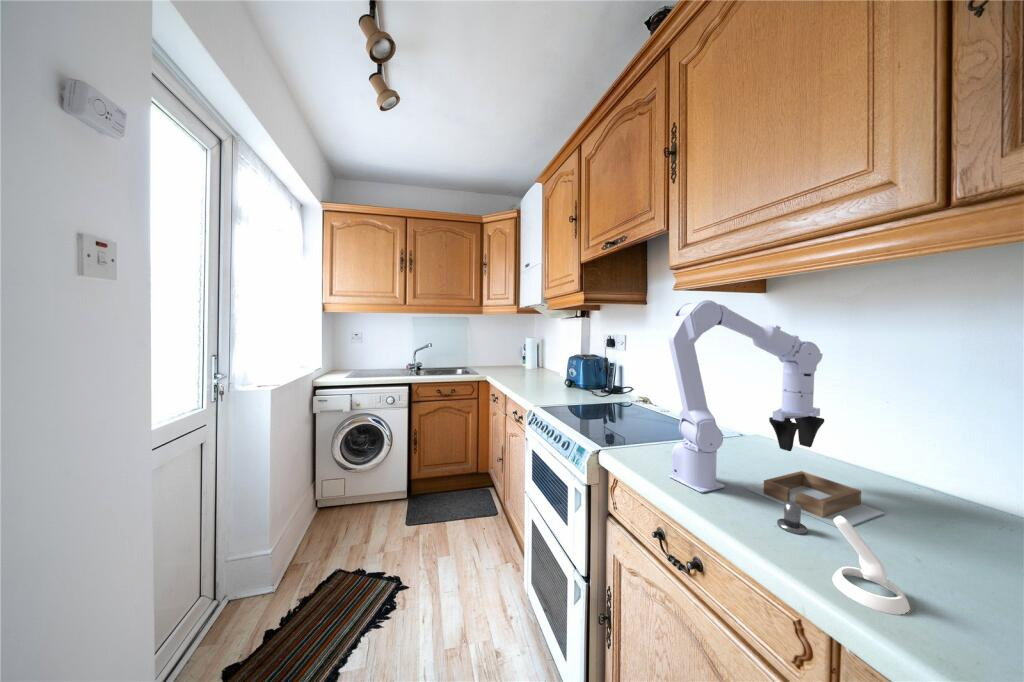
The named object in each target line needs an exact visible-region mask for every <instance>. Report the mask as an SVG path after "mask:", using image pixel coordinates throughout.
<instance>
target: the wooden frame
mask: <svg viewBox="0 0 1024 682" xmlns="http://www.w3.org/2000/svg"><path fill="white" fill-rule="evenodd" d="M763 483H764V494H766V495H769V496H771V497H774V498H776V499H778V500H781V501H783V502H785V501H790V489H793V488H797V487H800V486H806V487H808V488H811V489H814V490H817V491H820V492H822V493H825V494H828V495H831V496H830V497H827V498H824V499H820V500H819V499H817V498H814V497H811V496H809V495H806V494H803V493H801V492H796V497H795V503H798V504H799V505H801V509H802V510H805V511H807V512H809V513H812V514H814V515H817V516H819V517H821V518H824V517H827V516H829V515H832V514H835V513H838V512H841V511H844V510H847V509H850V508H853V507H855V506H858V505H862V490H861V489H857V488H854V487H851V486H848V485H846V484H843V483H839V482H836V481H833V480H830V479H827V478H823V477H820V476H817V475H815V474H812V473H809V472H806V471H803V470H801V471H795V472H793V473H787V474H784V475H783V474H782V475H780V476H776V477H772V478H767V479H764V480H763Z"/></svg>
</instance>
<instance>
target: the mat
mask: <svg viewBox="0 0 1024 682" xmlns="http://www.w3.org/2000/svg"><path fill="white" fill-rule="evenodd" d="M745 489H746V490H747V491H750V492H753V493H755V494H757V495H759V496H762V497H764V498H767V499H769V500H772V501H773V502H776V503H778V504H780V505H783V506H784V503H785V502H783V501H781V500H778V499H776V498H774V497H771V496H769V495H766V494H764V482H763V483H758V484H754V485H751V486H746V487H745ZM796 492H801V493H803V494H806V495H809V496H811V497H814V498H817V499H819V500H820V499H824V498H827V497H830V496H831V495H828V494H825V493H822V492H820V491H817V490H814V489H811V488H808V487H806V486H800V487H797V488H793V489H790V501H791V502H795V497H796ZM801 514H804V515H807V516H809V517H812V518H814V519H816V520H817V521H821V522H823V523H826V524H827V525H830V526H833V527H835V528H837V529H838V527H837V526H836V524H835V523H834V521H833V519H834V518H835V517H837V516H842V517H844V518H845V519H846V520H847V521H848V522H849V523H850V524H851V525H852V527H854V526H857V525H859V524H862V523H864V522H867V521H869V520H873V519H875V518H878V517H880V516H882V515H885V512H884V511H881V510H878V509H876V508H872V507H869V506H867V505H864V504H861V505H858V506H855V507H853V508H850V509H847V510H844V511H841V512H838V513H835V514H832V515H829V516H827V517H824V518H821V517H819V516H817V515H814V514H812V513H809V512H807V511H805V510H802V509H801Z"/></svg>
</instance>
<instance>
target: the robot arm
mask: <svg viewBox="0 0 1024 682" xmlns="http://www.w3.org/2000/svg"><path fill="white" fill-rule="evenodd" d="M716 326H722V327H724V328H725V329H729V330H732V331H733V332H736V333H739V334H740V335H743V336H745V337H747V338H750V339H752V344H753V345H754V346H755V347H756V348H759V349H761V350H763V351H765V352H767V353H769V354H771V355H773V356H776V357H777V358H778V361H780V362H781V363H782V364H783V365H782V394H781V407H780V408H778V409H777V410H773V411H772V416H770V417H768V422H769V423H770V425H771V426H772V428H773V431H774V432H775V435H776V439H777V442H778V446H779V449H780V450H783V451H787V452H792V450H793V447H794V441H795V436H796V432H797V433H798V443H799V445H800V446H801V447H806V448H812V446H813V444H814V442H815V441H814V440H815V438H816V436H817V433H818V431H819V430H820V428H821V427H822V425H823V424H825V419H824V417H823V418H822V417H820V416H821V408H820V407H815V406H814V394H815V393H814V391H815V373H816V372H817V368H818V367H817V366H818V364H819V363H820V362H821V360H822V358H823V353H821V350H820V348H819V347H818V345H817V344H815V343H814V342H812V341H808V340H807V341H806V340H805V341H803V340H801V339H800V336H798V335H796V334H789V333H787V332H785V331H783V330H781V326H779V325H775V324H774V325H773V324H772V325H769V324H767V325H764V326H761V325H759V324H757V323H755V322H754V321H751V320H749V319H748V318H746V317H744V316H743V315H741V314H738V313H737V312H735V311H733V310H731V309H730V308H728V307H727V306H725V305H724V304H721V303H717V302H715V300H714V301H713V300H711V299H710V300H709V299H705V300H702V301H699V302H688V303H685V304H682V305H681V306H680V307H679V309H678V310H677V311H676V312H675V313H674V314H673V322H672V325H671V328H670V332H669V335H668V344H669V349H670V354H671V359H672V364H673V368H674V372H675V377H676V382H677V386H678V391H679V396H680V400H681V401H680V402H681V406H682V409H681V411H680V412H679V417H680V418H679V419H680V421H679V423H678V432H679V434H680V435H681V437H683V440H681V441H678V442H676V443H675V444H674V446H673V448H672V451H671V474H669V475H668V476H669V478H671V479H672V480H675V481H677V482H678V483H681V484H683V485H685V486H687V487H688V488H691V489H692V490H695V491H697V492H699V493H706V492H711V491H715V490H719V489H723V488H725V487H726V486H725V484H723V483H721V482H719V481H717V460H718V459H717V454H718V450H719V448H721V447H722V446H723V442H724V435H723V432H722V431H721V429H720V428H719V427H718V425H717V422H716V418H715V417H714V415H713V414H712V413H711V411H710V409H709V407H708V404H707V403H708V402H707V399H706V393H705V390H704V389H705V388H704V384H703V380H702V375H701V370H700V365H699V360H698V356H697V351H696V350H697V349H696V347H695V344H696V342H697V341H698V340H699V339H700V337H701V336H702V335H703V334H704V333H706V332H707V331H709V330H711V329H713V328H714V327H716ZM792 419H793V420H795V422H793V420H792Z"/></svg>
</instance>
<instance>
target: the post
mask: <svg viewBox="0 0 1024 682" xmlns="http://www.w3.org/2000/svg"><path fill="white" fill-rule="evenodd" d="M783 506H784V509H783V510H784V511H783V513H784V514H783V518H779V519H777V521H776V524H777V526H778V527H779V528H780V529H782V530H783V531H786V532H788V533H791V534H795V535H807V533H808V527H807V526H805V524H803V523H801V519H802V518H801V517H802V516H801V515H802V512H801V505H799V504H798V503H795V502H791V501H785V503H784V505H783Z"/></svg>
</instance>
